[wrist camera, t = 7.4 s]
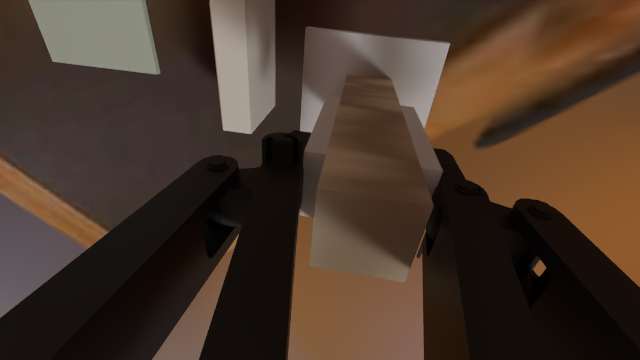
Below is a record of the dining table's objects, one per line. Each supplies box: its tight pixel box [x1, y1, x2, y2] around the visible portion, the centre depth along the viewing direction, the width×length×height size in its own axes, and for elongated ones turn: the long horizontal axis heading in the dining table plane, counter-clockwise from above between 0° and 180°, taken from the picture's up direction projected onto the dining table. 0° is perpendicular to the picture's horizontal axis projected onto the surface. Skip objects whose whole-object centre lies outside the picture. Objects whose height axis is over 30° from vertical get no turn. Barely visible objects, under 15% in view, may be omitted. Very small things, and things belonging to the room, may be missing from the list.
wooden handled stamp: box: [300, 27, 450, 282], centre depth 14 cm, size 9×8×15 cm
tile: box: [209, 0, 275, 134], centre depth 25 cm, size 3×10×8 cm, turn 175°
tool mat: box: [29, 0, 160, 74], centre depth 28 cm, size 12×12×1 cm
